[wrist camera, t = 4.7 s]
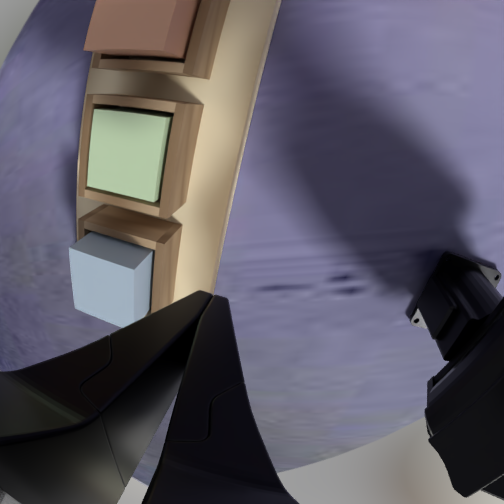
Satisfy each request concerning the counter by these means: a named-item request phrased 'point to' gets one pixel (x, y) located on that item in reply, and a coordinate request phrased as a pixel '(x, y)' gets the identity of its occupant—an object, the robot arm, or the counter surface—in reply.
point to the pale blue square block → (112, 278)
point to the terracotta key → (142, 27)
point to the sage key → (129, 151)
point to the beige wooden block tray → (183, 142)
